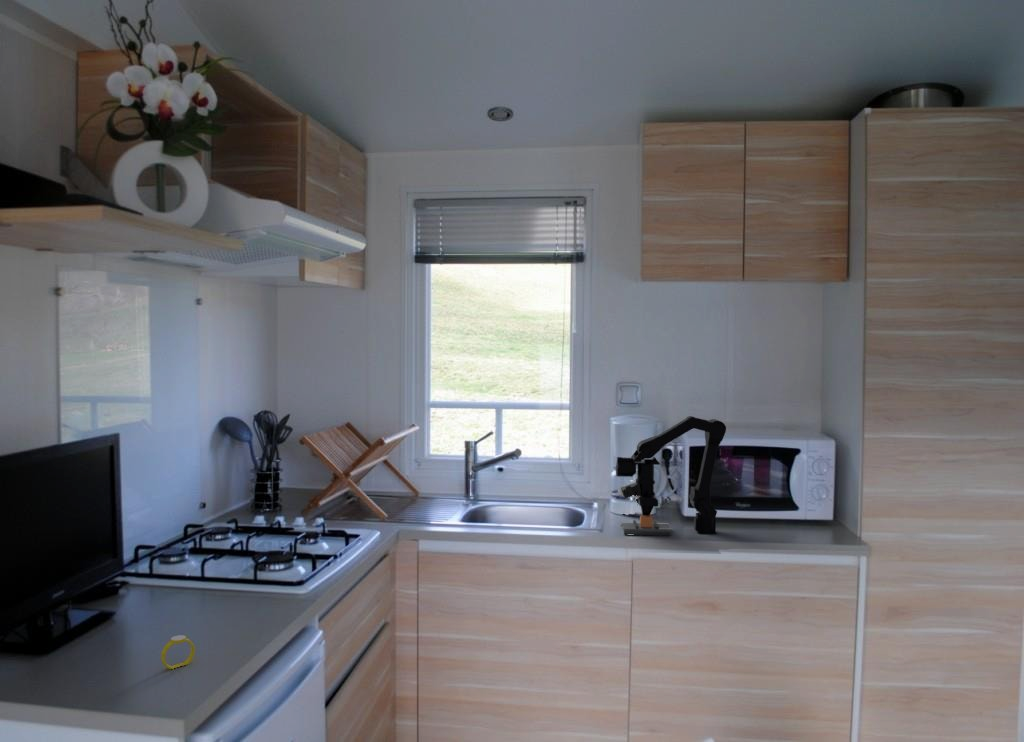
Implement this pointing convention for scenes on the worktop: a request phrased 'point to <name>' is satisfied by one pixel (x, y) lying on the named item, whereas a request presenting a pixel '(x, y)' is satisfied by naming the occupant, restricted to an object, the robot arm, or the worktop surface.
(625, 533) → the dark grey rod
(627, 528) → the panel
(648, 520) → the orange block
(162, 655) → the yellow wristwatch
